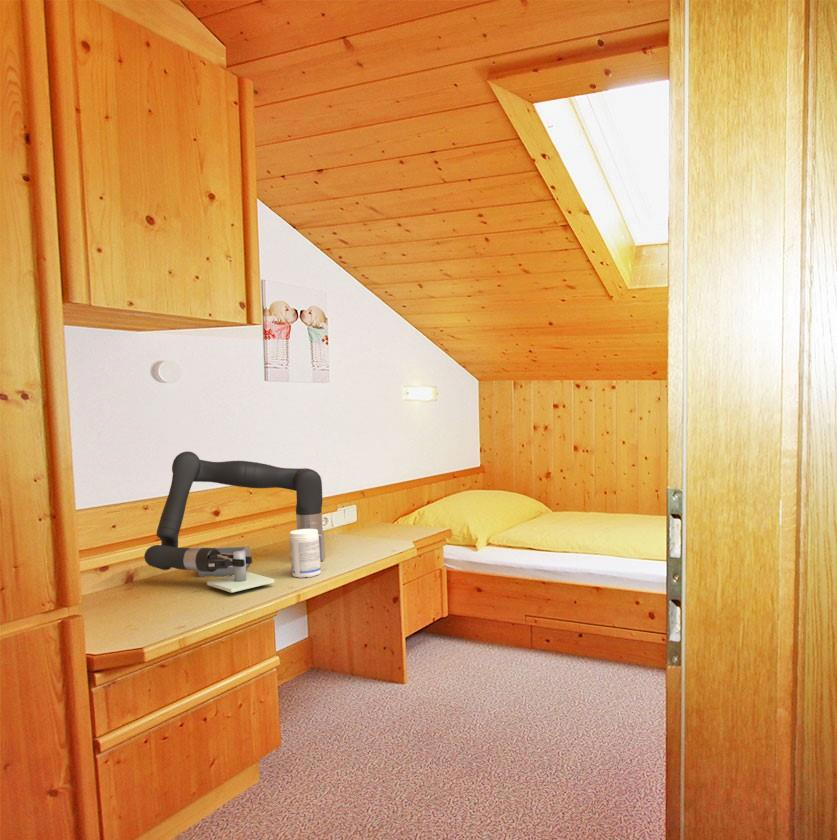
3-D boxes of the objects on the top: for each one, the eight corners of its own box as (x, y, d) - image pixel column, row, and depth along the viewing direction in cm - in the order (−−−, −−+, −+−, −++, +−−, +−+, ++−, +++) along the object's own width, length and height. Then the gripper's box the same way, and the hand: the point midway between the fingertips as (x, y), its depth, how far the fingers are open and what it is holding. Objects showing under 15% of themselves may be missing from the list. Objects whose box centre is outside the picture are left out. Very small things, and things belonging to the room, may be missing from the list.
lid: (249, 575, 236) (247, 544, 235) (274, 582, 225) (273, 550, 225) (207, 584, 225) (205, 553, 225) (231, 592, 214) (229, 559, 214)
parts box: (250, 566, 256) (249, 546, 256) (239, 575, 242) (238, 554, 242) (211, 567, 256) (210, 548, 256) (198, 577, 242) (197, 556, 242)
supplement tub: (326, 572, 241) (324, 528, 241) (311, 579, 232) (309, 534, 232) (301, 570, 245) (299, 527, 245) (285, 577, 236) (283, 533, 236)
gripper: (186, 552, 223) (233, 554, 217) (215, 543, 236) (260, 545, 230) (188, 576, 223) (234, 579, 217) (216, 566, 237) (261, 568, 230)
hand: (247, 561), depth 224 cm, fingers closed on lid, 3 cm apart
